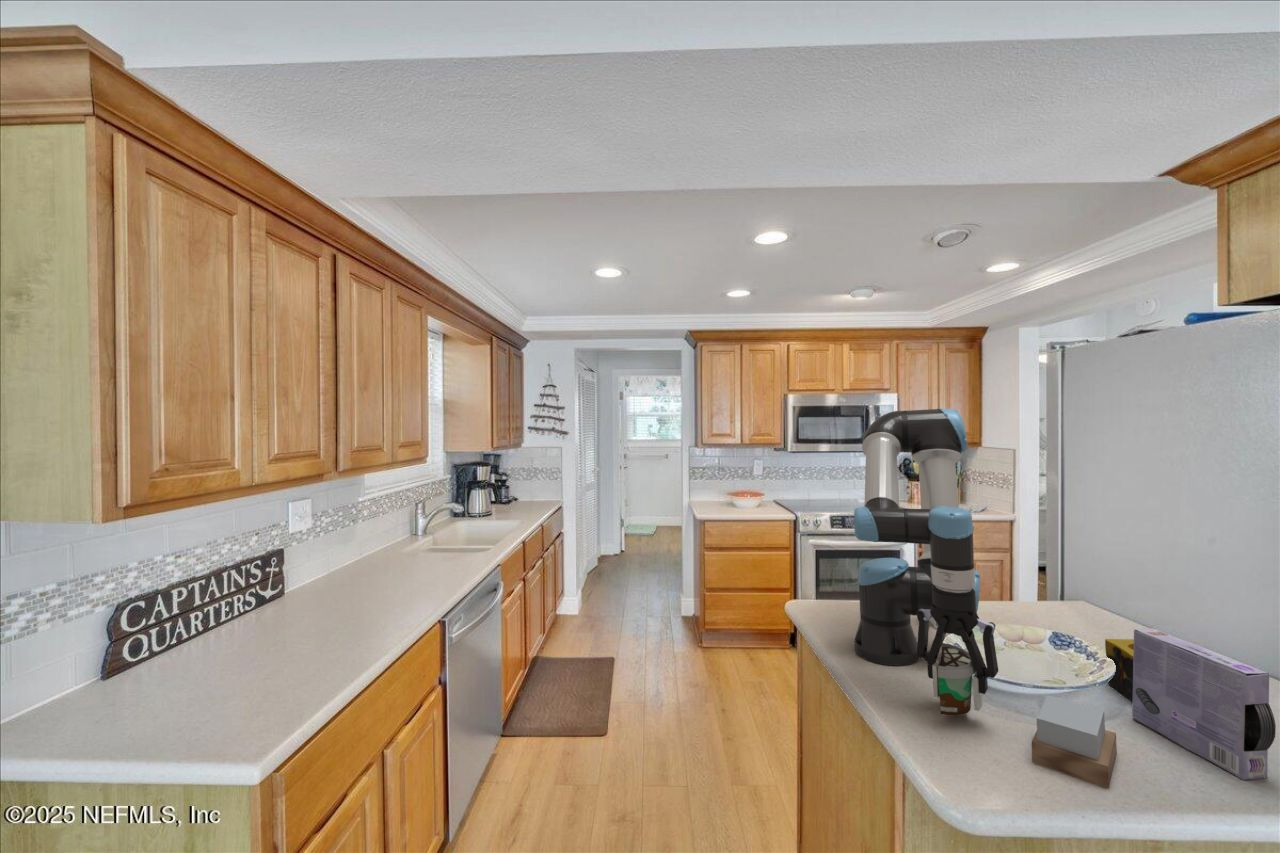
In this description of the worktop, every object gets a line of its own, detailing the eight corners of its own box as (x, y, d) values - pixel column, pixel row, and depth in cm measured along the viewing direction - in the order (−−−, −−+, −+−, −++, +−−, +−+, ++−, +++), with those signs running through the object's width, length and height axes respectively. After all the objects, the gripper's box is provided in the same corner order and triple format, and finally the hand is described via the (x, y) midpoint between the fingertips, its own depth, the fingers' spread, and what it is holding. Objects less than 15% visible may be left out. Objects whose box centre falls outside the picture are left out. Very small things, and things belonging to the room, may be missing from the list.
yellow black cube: (1199, 711, 105) (1197, 660, 105) (1138, 708, 107) (1136, 658, 107) (1160, 685, 115) (1158, 639, 115) (1105, 683, 117) (1103, 637, 117)
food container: (977, 726, 101) (975, 673, 100) (939, 718, 104) (937, 666, 104) (977, 694, 111) (975, 647, 111) (943, 688, 114) (941, 641, 114)
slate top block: (1037, 741, 93) (1036, 718, 93) (1048, 716, 100) (1047, 695, 100) (1098, 760, 87) (1097, 735, 87) (1105, 732, 94) (1104, 710, 94)
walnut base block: (1032, 764, 93) (1031, 741, 93) (1046, 733, 101) (1045, 712, 101) (1108, 791, 86) (1108, 766, 86) (1116, 755, 94) (1116, 733, 94)
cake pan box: (1280, 783, 85) (1276, 671, 85) (1252, 786, 85) (1248, 674, 84) (1154, 716, 104) (1150, 625, 104) (1130, 719, 104) (1126, 628, 103)
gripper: (894, 582, 111) (899, 692, 112) (1006, 603, 97) (1011, 728, 98) (908, 573, 117) (913, 678, 117) (1016, 591, 102) (1020, 710, 103)
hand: (957, 700), depth 108 cm, fingers closed on food container, 6 cm apart
